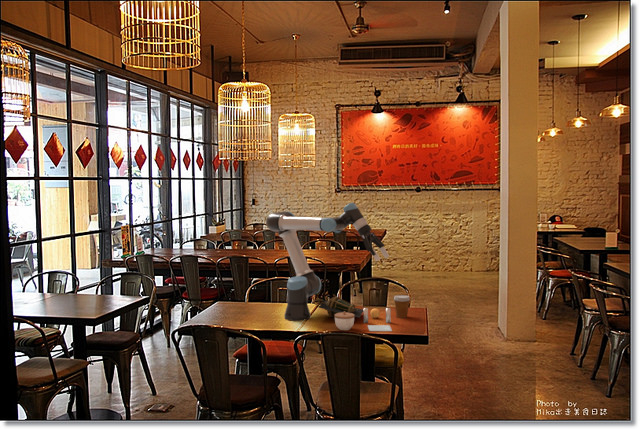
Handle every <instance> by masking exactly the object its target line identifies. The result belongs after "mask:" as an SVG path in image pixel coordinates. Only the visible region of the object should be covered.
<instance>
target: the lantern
mask: <svg viewBox="0 0 640 430" xmlns="http://www.w3.org/2000/svg"><path fill="white" fill-rule="evenodd" d="M316 301H320V302H318V303H316ZM312 303H313V304H314V305H315V306H318V305H319V306H318V309H319V308H320V309H323V310H324V311H327V314H328V315H327V316H326V318H328V317H329V318H335V314H336V313H342V312H344V311H345V312H346V313H352V314H354V318H361V316H362V315H363V314H364V308H363V309H362V308H359V307H357V305H356V304H353V303H350V302H348V301H346V300H344V299H343V298H340V297H339V296H337V295H335V294H333V296H332V297H331V298H329V297H328V300H324V301H323V299H318V298H317V299H314V300H313V301H312Z"/></svg>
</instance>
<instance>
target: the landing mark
mask: <svg viewBox="0 0 640 430" xmlns="http://www.w3.org/2000/svg"><path fill="white" fill-rule="evenodd" d="M367 329H368V331H369V332H393V330H392V327H391V326H390V324H386V325H385V324H382V325H381V324H379V325H377V324H376V325H374V324H373V325H372V324H370V325H369V324H368V325H367Z"/></svg>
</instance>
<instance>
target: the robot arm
mask: <svg viewBox="0 0 640 430" xmlns="http://www.w3.org/2000/svg"><path fill="white" fill-rule="evenodd" d="M265 224H266V227H267V228H268V230H269V231H271V232H274V233H275V232H277V233H278V237H280V238H282V240H283V243H284V245H285V247H286V250H287V253H288V255H289V258H290V260H291V263H292V266H293V269H294V270H295V271H294V272H295V275H296V276H292V277H290V278H288V280H287V284H286V291H287V293H286V296H287V297H286V298H287V299H286V300H287V306H286V308H285V312H284V316H283V317H284V319H285V320H288V321H295V322H296V321H298V322H299V321H300V322H301V321H307V320H310V319H311V311H310V309H309V304H308V298H309V297H312V296H315V295H316V294H318V293H319V292H320V291H321V289H322V280H321V279H320V277H319V276H317V275H316V274H315V272H314V270H313V269H311V268H310V266H309V262H308V261H307V258H306V256H305V254H304V250H303V248H302V245H301V243H300V241H299V238H298V235H297V231H317V232H321V231H323V232H327V233H329V232H333V233H335V234H339V233H341V232H343V230H344V229H346V228H347V227H348V226H349V225H351V224H352V225H353V227H354V228H355V230H356V231H357V233H358V235H359V236H360V237H361V240H362V241H363V244H364V246H365V249H366V251H367V252H368V253H370V254H371V256H372V257H373V258H374V260H375V262H378V261H380V260H381V257H380V255H379V254H378V253H377V251H376V249H375V248H374V247H373V244H374V245H375V246H376V247H378V249H379V251H380V253H381V254H382V255H383V257H384V258H385V259H387V258H389V257H390V255H389V253H388V251H387V250H386V248H385V247H384V246H385V244H384V243H383V242H382V240H381V239H379V237H378V236H377V235H376V234H375V232H371V231H372V227H371V226H370V224H369V223H368V222H367V219H366V217H364V215H363V214H362V212H361V211H360V209H359V207H358V206H357V205H356V203H355V202H349V203H348V204H346V205H345V206H344V207H343V213H341V214H340V215H338V216H334V217H317V216H316V217H314V216H312V217H311V216H310V217H309V216H296V215H295V214H294V213H292V212H290V211H286V210H284V211H275V212H271V213H270V214H269V215H268V216H267V217H266V220H265Z"/></svg>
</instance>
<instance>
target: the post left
mask: <svg viewBox="0 0 640 430" xmlns="http://www.w3.org/2000/svg"><path fill="white" fill-rule="evenodd" d="M363 310H364V311H363V324H369V307H363Z"/></svg>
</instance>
